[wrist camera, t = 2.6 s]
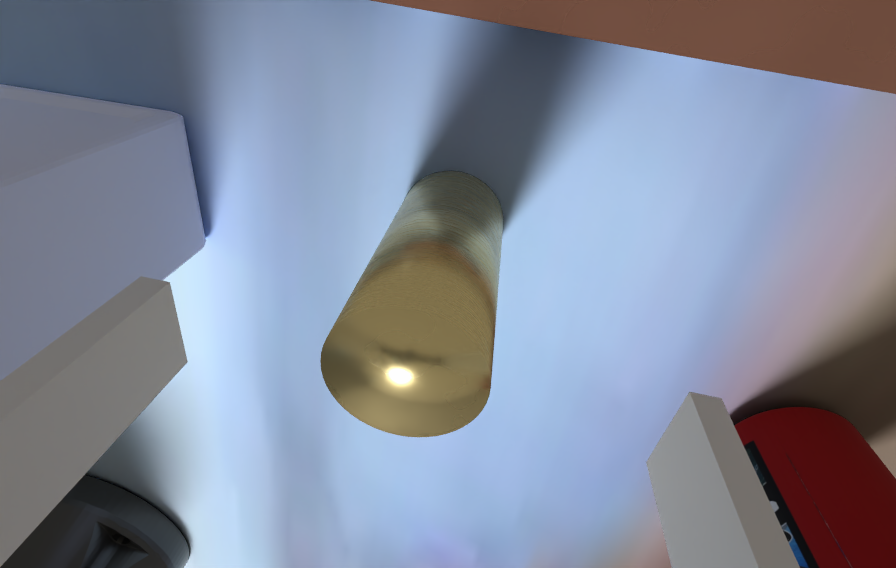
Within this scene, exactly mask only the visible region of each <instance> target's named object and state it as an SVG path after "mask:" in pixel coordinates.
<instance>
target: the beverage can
mask: <svg viewBox="0 0 896 568" xmlns="http://www.w3.org/2000/svg"><path fill="white" fill-rule="evenodd" d="M734 427H735V429H736V431H737V433H738V435H739V437H740V439H741V442H742V444H743V446H744V448H745V450H746V452H747V455H748V457H749V459H750V461H751V463H752V465H753V467H754V470H755V472H756V474H757V476H758V478H759V480H760V483H761V485H762V487H763V489H764V491H765V493H766V495H767V498H768V500H769V502H770V504H771V506H772V508H773V510H774V513H775V515H776V517H777V519H778V521H779V523H780V526H781V528H782V530H783V532H784V534H785V536H786V538H787V541H788V543H789V545H790V547H791V549H792V551H793V554H794V556H795V558H796V560H797V562H798V564H799V566H802V567H807V568H896V479H895V477H894V476H893V475H892V474H891V472H890V471H889V470H888V468H887V467H886V466H885V465H884V463H883V462H882V461H881V460H880V458H879V457H878V456H877V454H876V453H875V452H874V451H873V449H872V448H871V447H870V446H869V444H868V443H867V442H866V441H865V439H864V438H863V437H862V436H861V434H860V433H859V432H858V430H857V429H856V428H855V427H854V426H853V425H852V424H851V423H850V422H849V421H848V420H846V419H845V418H843V417H841V416H840V415H838V414H835V413H833V412H830V411H826V410H822V409H817V408H810V407H787V408H779V409H773V410H769V411H764V412H761V413H758V414H755V415H753V416H751V417H749V418H746V419H744V420H742V421H741V422H739V423H737V424H736V425H734Z"/></svg>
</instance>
